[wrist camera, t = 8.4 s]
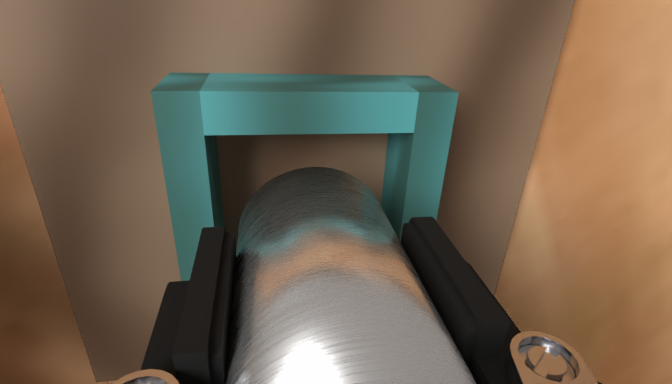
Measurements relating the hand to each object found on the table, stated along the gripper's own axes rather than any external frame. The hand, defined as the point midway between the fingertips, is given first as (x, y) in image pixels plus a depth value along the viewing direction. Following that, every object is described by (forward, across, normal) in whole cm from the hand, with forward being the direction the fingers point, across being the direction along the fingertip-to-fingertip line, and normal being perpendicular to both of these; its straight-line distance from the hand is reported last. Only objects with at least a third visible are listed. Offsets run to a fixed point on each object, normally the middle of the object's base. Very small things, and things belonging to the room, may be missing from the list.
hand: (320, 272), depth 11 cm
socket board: (+6, 0, 0) cm, 6 cm away
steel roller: (+2, 0, 0) cm, 2 cm away
